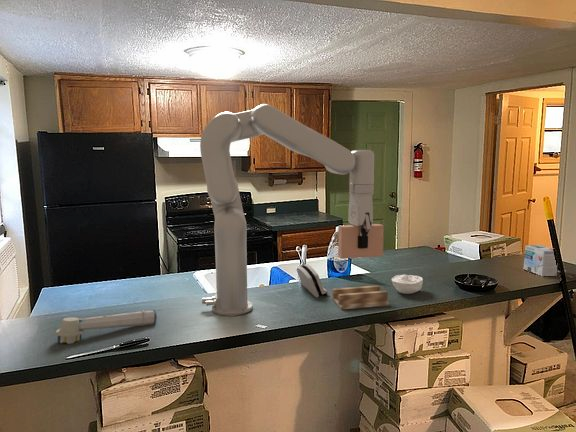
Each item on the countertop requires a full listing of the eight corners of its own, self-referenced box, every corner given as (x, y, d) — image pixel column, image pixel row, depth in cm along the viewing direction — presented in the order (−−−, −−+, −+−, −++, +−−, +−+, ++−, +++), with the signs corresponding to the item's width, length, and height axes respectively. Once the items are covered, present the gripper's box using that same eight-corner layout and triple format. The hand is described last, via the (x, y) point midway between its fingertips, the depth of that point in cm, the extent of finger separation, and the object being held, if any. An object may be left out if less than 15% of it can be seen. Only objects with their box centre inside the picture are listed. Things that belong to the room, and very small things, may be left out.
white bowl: (429, 292, 151) (430, 273, 150) (408, 299, 143) (409, 279, 143) (405, 285, 159) (406, 267, 158) (384, 292, 151) (385, 273, 150)
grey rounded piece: (329, 295, 148) (320, 269, 145) (317, 301, 147) (307, 275, 145) (313, 282, 164) (305, 258, 161) (302, 287, 163) (293, 263, 160)
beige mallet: (158, 312, 122) (58, 319, 109) (155, 335, 123) (56, 345, 109) (152, 307, 127) (56, 313, 113) (150, 329, 127) (54, 338, 113)
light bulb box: (522, 270, 178) (524, 245, 177) (537, 269, 180) (539, 244, 178) (542, 277, 168) (544, 250, 167) (557, 276, 169) (559, 249, 168)
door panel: (341, 258, 136) (341, 227, 135) (338, 256, 139) (338, 225, 138) (382, 256, 139) (383, 225, 138) (378, 254, 142) (379, 223, 141)
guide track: (341, 309, 135) (341, 296, 134) (331, 299, 144) (331, 287, 144) (389, 305, 138) (389, 293, 137) (376, 295, 148) (376, 284, 147)
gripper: (341, 188, 143) (341, 242, 146) (359, 192, 127) (358, 253, 130) (362, 187, 145) (362, 241, 147) (383, 191, 129) (382, 251, 131)
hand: (360, 246), depth 139 cm, fingers closed on door panel, 3 cm apart
